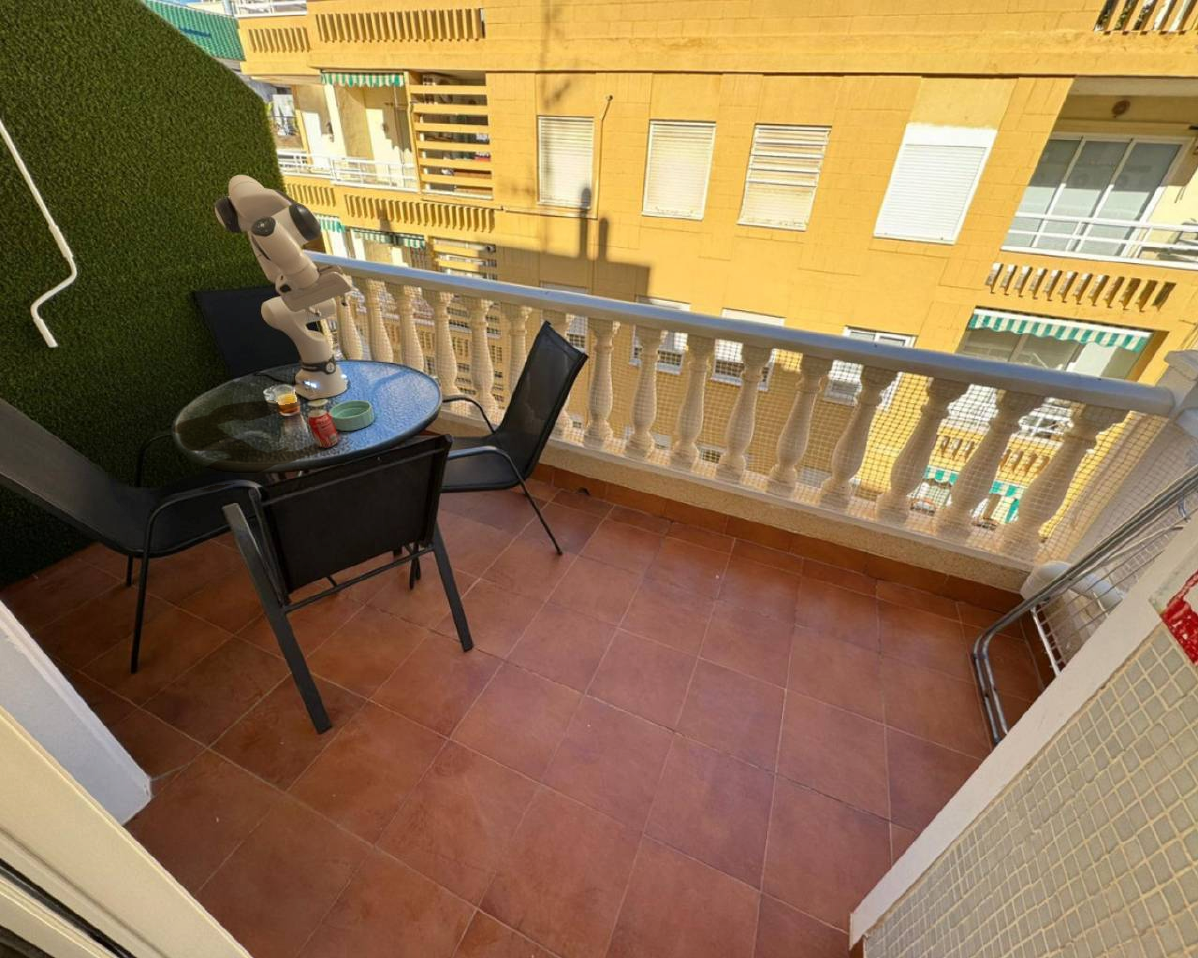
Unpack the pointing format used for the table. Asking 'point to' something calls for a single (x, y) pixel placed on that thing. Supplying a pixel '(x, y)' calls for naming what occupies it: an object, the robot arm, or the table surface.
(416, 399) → the table surface
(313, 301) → the robot arm
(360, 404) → the bowl
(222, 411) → the table surface
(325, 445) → the soda can
